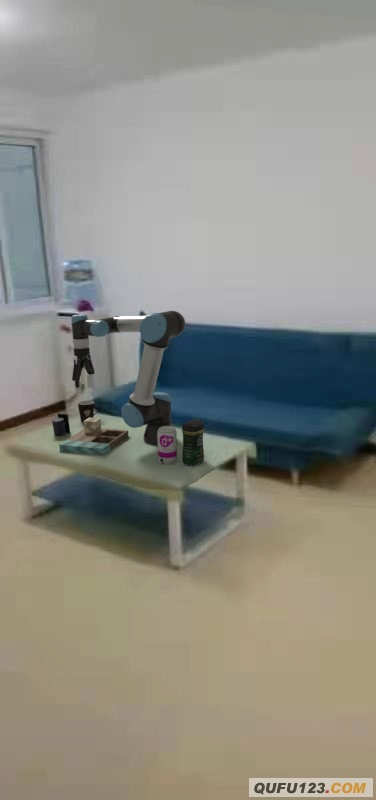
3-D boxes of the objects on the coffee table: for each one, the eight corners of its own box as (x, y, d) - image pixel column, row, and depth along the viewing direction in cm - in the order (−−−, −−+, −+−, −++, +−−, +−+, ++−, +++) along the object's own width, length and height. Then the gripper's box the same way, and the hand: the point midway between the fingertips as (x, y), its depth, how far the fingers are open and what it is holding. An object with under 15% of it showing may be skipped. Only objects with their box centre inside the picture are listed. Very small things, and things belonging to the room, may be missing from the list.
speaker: (62, 430, 315) (60, 411, 311) (70, 432, 312) (68, 413, 308) (51, 436, 309) (49, 416, 305) (59, 438, 306) (57, 418, 302)
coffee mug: (76, 422, 328) (75, 404, 326) (81, 418, 337) (80, 400, 334) (97, 423, 326) (96, 405, 324) (102, 419, 335) (101, 400, 332)
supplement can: (175, 465, 265) (174, 431, 261) (156, 464, 267) (155, 430, 263) (178, 458, 273) (178, 425, 269) (160, 457, 274) (159, 425, 271)
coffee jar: (195, 467, 262) (194, 425, 258) (179, 464, 267) (178, 422, 262) (207, 460, 270) (206, 419, 265) (192, 457, 274) (191, 416, 270)
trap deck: (128, 436, 305) (128, 430, 304) (103, 455, 279) (103, 448, 278) (87, 432, 312) (87, 427, 311) (59, 450, 286) (59, 444, 285)
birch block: (101, 430, 305) (100, 418, 304) (95, 433, 300) (95, 421, 298) (90, 429, 307) (89, 417, 306) (84, 432, 302) (83, 420, 300)
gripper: (85, 343, 311) (88, 384, 316) (62, 351, 288) (66, 396, 293) (99, 343, 309) (102, 385, 314) (77, 351, 286) (80, 397, 291)
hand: (84, 390), depth 303 cm, fingers open, 13 cm apart
